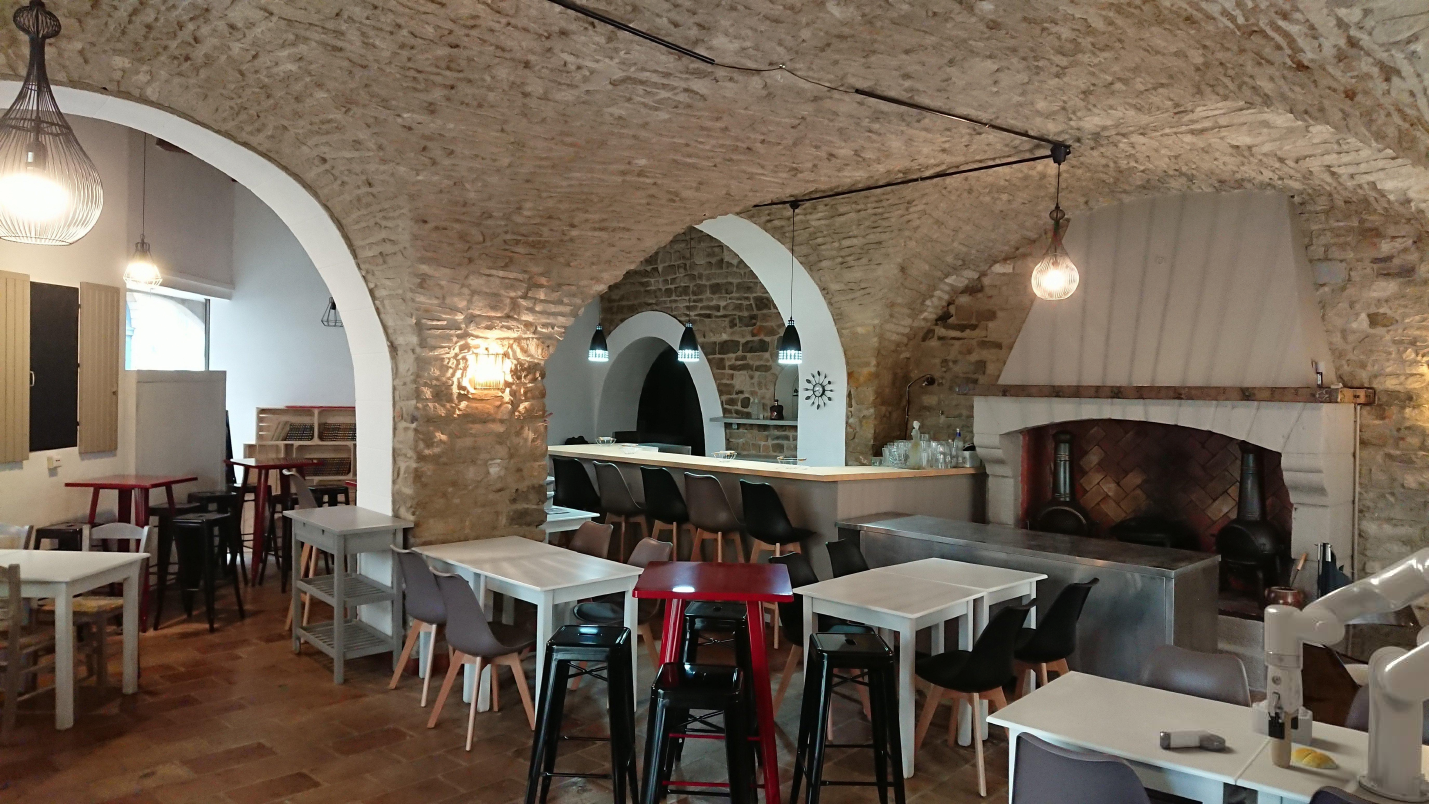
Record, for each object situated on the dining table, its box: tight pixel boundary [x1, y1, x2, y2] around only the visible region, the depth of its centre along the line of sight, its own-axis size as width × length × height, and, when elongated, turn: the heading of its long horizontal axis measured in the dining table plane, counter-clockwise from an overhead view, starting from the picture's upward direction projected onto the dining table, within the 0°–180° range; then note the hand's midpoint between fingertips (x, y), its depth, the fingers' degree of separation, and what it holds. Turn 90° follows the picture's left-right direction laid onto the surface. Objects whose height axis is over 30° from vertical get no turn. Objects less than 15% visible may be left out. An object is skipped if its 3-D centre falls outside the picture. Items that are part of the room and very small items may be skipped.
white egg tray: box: [1251, 699, 1313, 748], centre depth 231 cm, size 10×13×9 cm
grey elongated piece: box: [1159, 730, 1226, 753], centre depth 219 cm, size 17×7×4 cm, turn 100°
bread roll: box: [1291, 747, 1338, 769], centre depth 212 cm, size 8×9×4 cm
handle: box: [1266, 705, 1299, 769], centre depth 209 cm, size 5×6×15 cm
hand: (1283, 733), depth 209 cm, fingers open, 9 cm apart
